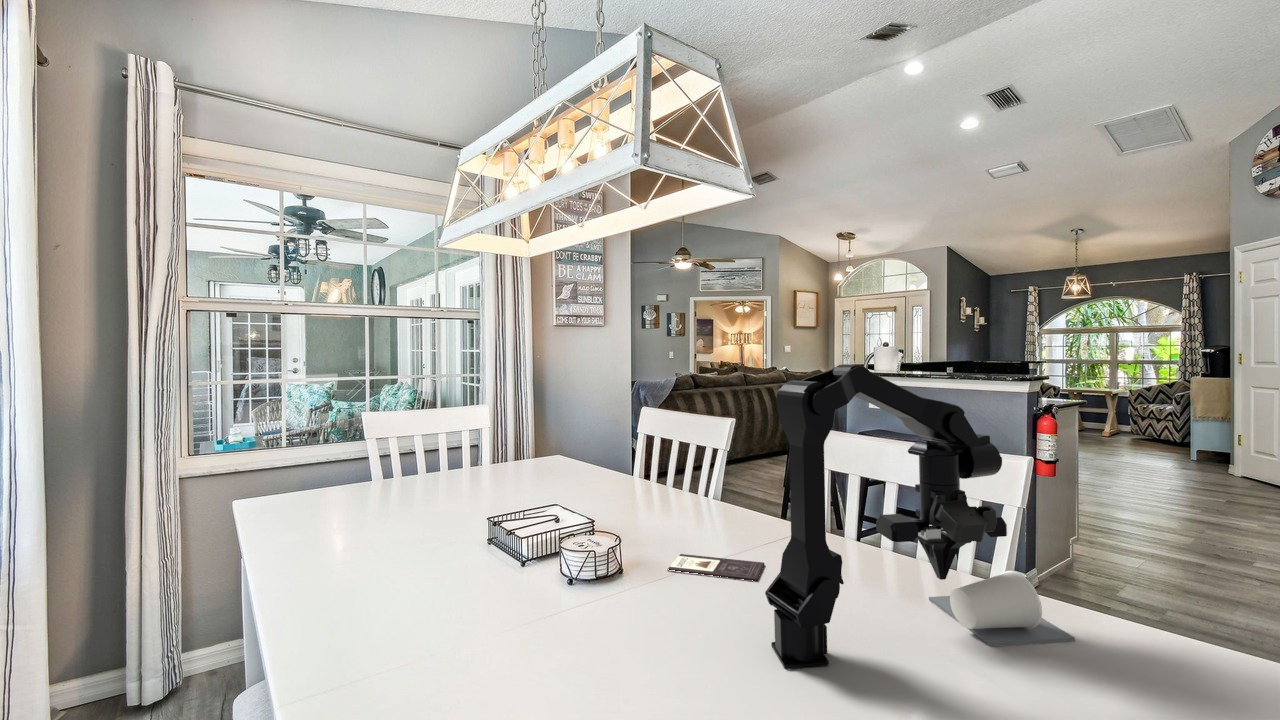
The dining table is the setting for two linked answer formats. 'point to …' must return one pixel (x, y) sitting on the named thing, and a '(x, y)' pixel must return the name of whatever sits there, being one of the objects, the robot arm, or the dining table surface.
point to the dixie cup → (997, 603)
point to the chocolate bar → (718, 567)
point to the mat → (1011, 630)
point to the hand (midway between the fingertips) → (941, 578)
